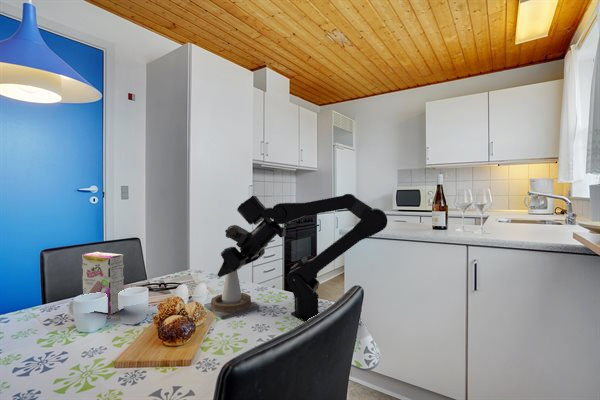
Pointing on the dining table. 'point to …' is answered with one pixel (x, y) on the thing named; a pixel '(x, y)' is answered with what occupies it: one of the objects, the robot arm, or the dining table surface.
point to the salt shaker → (231, 289)
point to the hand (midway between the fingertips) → (226, 271)
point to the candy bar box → (104, 276)
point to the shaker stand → (230, 306)
